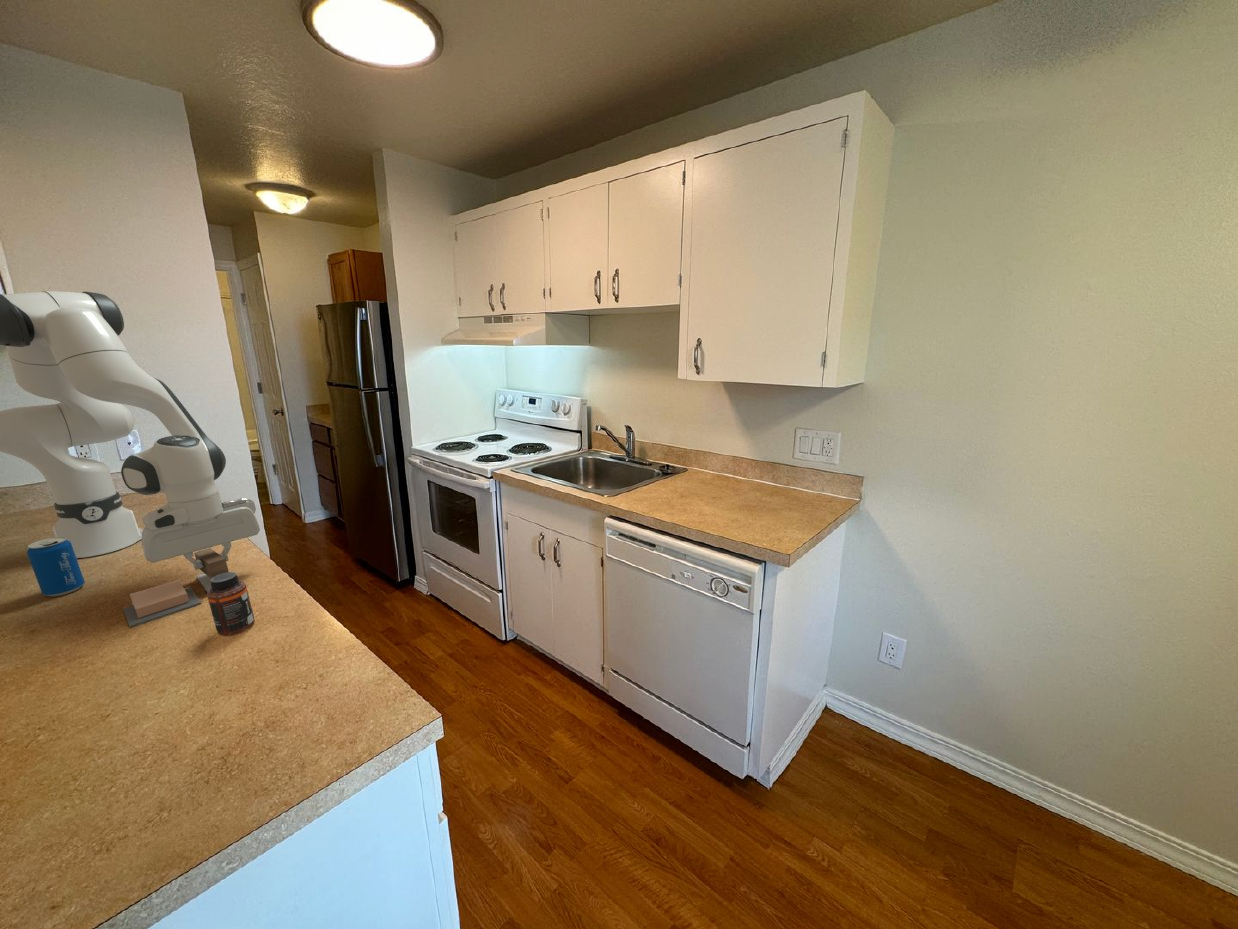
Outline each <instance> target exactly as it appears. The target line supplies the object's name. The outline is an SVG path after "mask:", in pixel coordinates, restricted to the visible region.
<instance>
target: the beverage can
mask: <svg viewBox="0 0 1238 929" xmlns="http://www.w3.org/2000/svg"><path fill="white" fill-rule="evenodd" d="M66 539H67V538H66V537H55V536H54V537H49V538H44V539H41V540H38V541H37V540H36V541H35V542H32V543H30V544H28V545H27V548H28V549H27V551H26V554H27V557H28V560H29V561H30V564H31V567H32V570H33V572H34V575H35V578H36V580H37V583H38V586H39V589H40V591H41V594H42V595H43V596H48V597H53V598H54V597H59V596H60V597H61V596H64V595H69V594H71V593H74V592H76V591H78V590H79V589H81V587H82V586H84V584H85V583H86V582H85V579H84V576H83V574H82V570H81V567H80V564H79V562H78V558H76V556H75V553H74V550H73V547H72V544H71V542H70V541H68V540H66Z"/></svg>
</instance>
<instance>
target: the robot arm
mask: <svg viewBox="0 0 1238 929" xmlns="http://www.w3.org/2000/svg"><path fill="white" fill-rule="evenodd" d="M124 329H125V321H124V317H123V314H122V312H121V309H120V308H119V306H118V304H117V303H116V302H115V301H114V300H113V299H112V298H110V297H109V296H108V295H105V294H103V293H98V292H91V291H82V292H78V291H63V290H62V291H61V290H42V291H32V292H31V291H29V292H18V293H16V292H15V293H7V294H6V293H5V294H2V293H0V346H5V347H6V350H7V353H8V357H9V361H10V365H11V368H12V371H13V372H12V373H13V375H14V378H15V381H16V384H17V385H18V386H19V387H20V389H22V390H23V391H25V392H27V393H30V394H32V395H33V396H34V395H35V396H37V397H40V398H44V399H49V400H53V401H56V402H58V403H55V404H53V403H51V404H43V405H42V404H41V405H32V406H31V405H30V406H21V407H19V406H18V407H12V408H8V409H4V410H3V409H2V410H0V452H1V453H4V454H6V455H7V454H8V455H11V456H14V457H16V458H19V459H20V460H23V461H25V462H27V463H29V464H30V465H32V466H33V467H34V468H35V469H37V470H38V471H39V472H40V473H41V475H42V476H43V478H44V479H45V481H46V483H47V485H48V487H49V489H50V491H51V494H52V497H53V499H54V503H53V506H54V509H53V510H54V512H55V513H56V516H57V518H58V520H57V522H56V523H54V525H53V526H52V528H51V530H52V533H53V535H54V537H66V538H67V539H66V540H68V541H70V542H71V544H72V547H73V550H74V553H75V556H76V558H77V559H79V558H80V559H82V558H90V557H95V556H100V555H105V554H109V553H112V552H115V551H118V550H121V549H125V548H128V547H130V546H132V545H134V544H135V543H137V542H138V541H141V546H142V552H143V555H144V558H145V560H146V561H148V562H150V563H157V562H160V561H161V562H162V561H165V560H168V559H172V558H176V557H180V556H183V557H184V558H185V560H187V561H189V562H190V563H192V565H193V569H194V570H195V571H198V570H200V569H201V568H204V566H203V565H202V564H203V563H202V560H201V559H199V560H196V558H193V557H194V553H195V552H199V551H202V550H206V549H209V548H213V547H216V546H222V547H223V549H222V551H221V553H218V554H219V555H221V556H222V557H224V558H225V559H226V562H228V561H229V556H228V555H229V552H230V550H231V549H232V543H231V542H235V541H239V540H243V539H246V538H249V537H253V536H257V535H258V534H259V532H260V531H261V528H260V524H259V522H258V519H257V517H256V515H255V513H256V510H257V508H256V504H255V502H254V501H253V500H251V499H249V498H245V497H244V498H243V497H242V498H238V499H234V500H229V501H224V502H222V498H221V493H220V491H219V489H218V487H217V486H216V484H215V481H217V480H218V479H219V478H220V476H221V475H222V474H223V472H224V470H225V468H226V464H227V460H226V459H227V458H226V456H225V454H224V452H223V450H222V449H221V448H220V447H219V446H218V444H216V443H215V442H214V441H213V440H211V438H209V436H207V435H206V433H205V432H204V431H203V429H202V428H201V427H200V426H199V424H198V423H197V422H196V420H195V419H194V417H193V416H192V415H191V413H190V412H189V411H188V410H187V408H186V407H185V406H184V404H182V402H181V401H180V400H179V398H178V397H177V396H176V395H175V393H174V392H173V391H172V390H171V388H169V386H168V385H166V383H164V381H162V380H161V379H158V378H156V377H153V376H152V375H150V374H149V373H147V372H146V371H145V370H144V369H143V368H141V367H140V366H139V365H138V364H137V363H136V362H135V361H134V359H133V358H132V356H131V354H130V353H129V351H128V349H127V348H126V346H125V344H124V343H123V341H122V340H121V338H120V337H119V336H120V335H121V333H122V332H123V331H124ZM127 406H132V407H136V408H140V409H142V410H146V411H148V412H149V413H152V414H153V415H154V416H156V418H157V419H158V420H159V422H161V423H162V425H163V426H164V427H165V428H166V430H167V431H168V432H169V434H171V435H169V436H168V435H167V436H163V437H161V438H159V439H156V441H154V443H153V445H152V446H151V447H150V448H148V449H145V450H143V451H140V452H137V453H135V454H132V455H129V456H127V457H126V458H125V460H124V462H122V463H123V464H122V466H121V468H120V474H121V477H122V478H121V479H122V481H123V482H124V484H125V486H126V487H127V488H128V490H131V491H133V492H134V493H137V494H139V495H144V496H151V495H158V494H161V493H163V494H164V495H165V496H166V504H165V505H163V506H160V507H158V508H156V509H154V510H152V511H150V512H147V513H145V514H144V515H142V522H143V524H144V528H141V527H139V526H138V523H137V520H136V517H135V515H134V512H133V510H130V509H129V508H126V507H124V506H123V502H122V497H121V495H120V492H118V491H117V490H116V486H115V483H114V480H113V477H112V473H111V470H110V468H109V467H108V466H107V464H105V463H103V462H101V461H99V460H96V459H92V458H86V457H79V456H75V455H71V454H70V453H69V452H68V449H69V448H72V447H79V446H80V447H81V446H86V445H93V444H101V443H107V442H111V441H114V440H118V439H122V438H126V437H127V436H129V435H130V434H131V432H133V429H134V427H135V418H134V416H133V413H132V412H131V410H130V408H128V407H127Z"/></svg>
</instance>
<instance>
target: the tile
mask: <svg viewBox="0 0 1238 929" xmlns="http://www.w3.org/2000/svg"><path fill="white" fill-rule="evenodd" d="M185 589H186V588H185V587H184V586H183V584H182V583H181V581H180V579H177V580H173V581H169V582H166V583H163V584H159V585H156V586H153V587H149V588H146V589H143V590H139V591H136V592H132V593H129V596H130V600H131V603H132V605H133V606H134V609H135V611H136V614H137V617H138V618H140V617H143V616H146V615H149V614H152V613H155V612H159V611H162V610H165V609H168V608H171V607H174V606H177V605H180V604H183V603H186V602H189V599H188V595H187V592H186V591H185Z"/></svg>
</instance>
